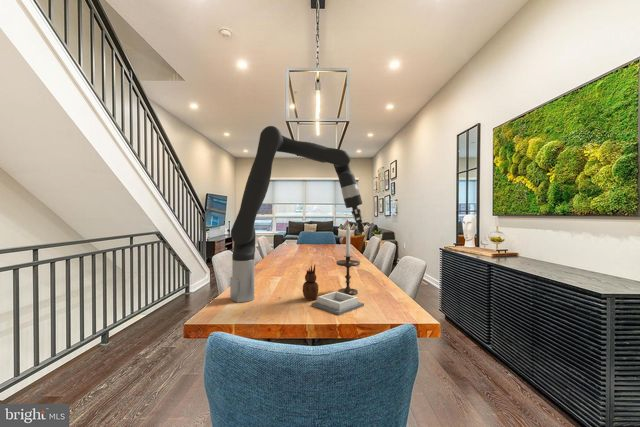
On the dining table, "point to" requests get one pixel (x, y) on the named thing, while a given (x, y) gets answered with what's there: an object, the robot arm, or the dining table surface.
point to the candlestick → (348, 265)
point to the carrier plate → (337, 303)
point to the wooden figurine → (310, 285)
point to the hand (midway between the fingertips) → (361, 231)
